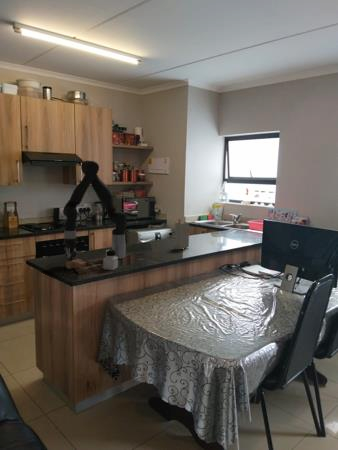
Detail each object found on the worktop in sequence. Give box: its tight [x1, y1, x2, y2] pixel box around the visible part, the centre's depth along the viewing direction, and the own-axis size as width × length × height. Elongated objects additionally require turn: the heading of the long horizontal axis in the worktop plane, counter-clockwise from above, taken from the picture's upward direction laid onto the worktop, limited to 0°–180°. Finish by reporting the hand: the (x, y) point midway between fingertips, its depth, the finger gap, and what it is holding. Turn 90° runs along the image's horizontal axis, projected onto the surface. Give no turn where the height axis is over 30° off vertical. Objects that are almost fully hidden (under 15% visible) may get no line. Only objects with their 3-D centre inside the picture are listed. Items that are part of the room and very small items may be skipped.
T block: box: [65, 258, 87, 270], centre depth 228 cm, size 10×11×4 cm
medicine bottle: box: [102, 249, 119, 271], centre depth 228 cm, size 7×7×12 cm
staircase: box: [173, 218, 190, 250], centre depth 292 cm, size 8×12×26 cm
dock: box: [75, 262, 103, 275], centre depth 223 cm, size 17×8×3 cm, turn 143°
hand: (70, 263), depth 232 cm, fingers closed
